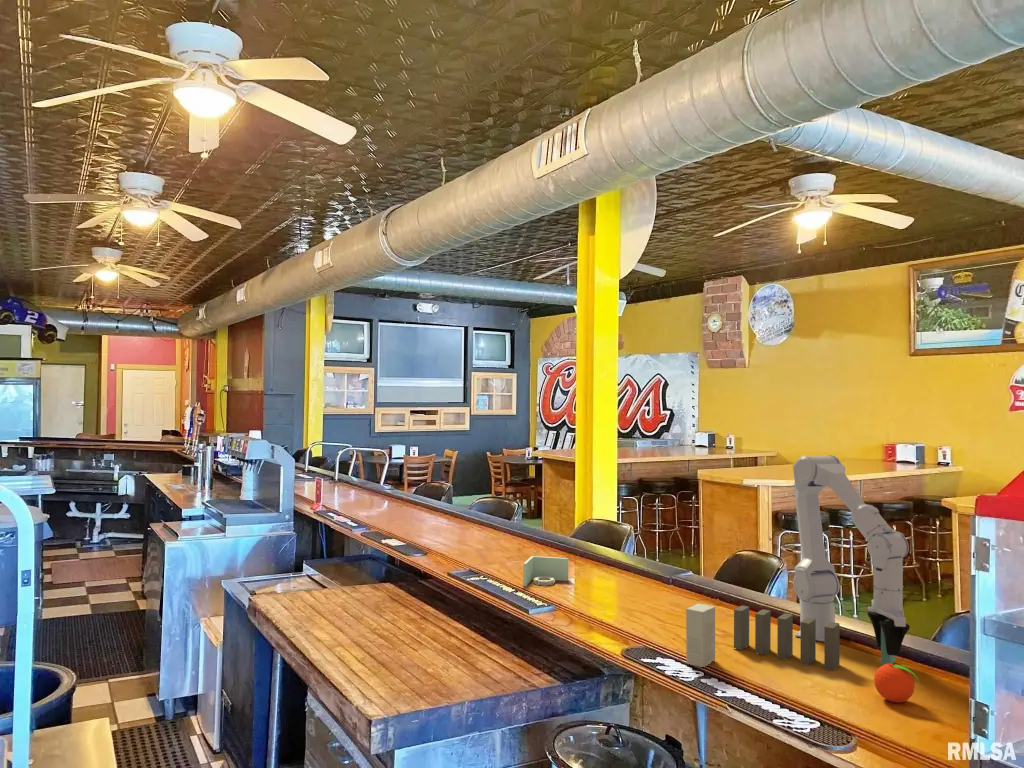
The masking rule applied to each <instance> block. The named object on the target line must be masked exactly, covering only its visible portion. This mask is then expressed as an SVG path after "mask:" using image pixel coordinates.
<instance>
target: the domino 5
mask: <svg viewBox="0 0 1024 768" xmlns="http://www.w3.org/2000/svg"><path fill="white" fill-rule="evenodd" d="M823 643H824V650H823V651H824V655H823V656H824V659H823V660H824V662H823V663H824V665H823V666H824V668H823V669H824V670H828V671H833V672H834V671H835V670H836V668H838V667H839V666H840V623H839V622H836V621H835V622H830V623H828V624H827V625H826V626H825V627H824V642H823Z"/></svg>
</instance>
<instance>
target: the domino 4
mask: <svg viewBox="0 0 1024 768" xmlns="http://www.w3.org/2000/svg"><path fill="white" fill-rule="evenodd" d="M816 641H817V640H816V619H814V618H808V617H807V618H806V619H804V620H803V621H801V637H800V655H799V656H800V659H799V660H800V662H799V663H801V665H804V664H805V666H810V665H811V664H813V663H814V662H815V661H816V660H817V659H816V656H817V655H816V653H817V652H816V651H817V649H816V647H817V645H816Z"/></svg>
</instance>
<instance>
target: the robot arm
mask: <svg viewBox="0 0 1024 768" xmlns="http://www.w3.org/2000/svg"><path fill="white" fill-rule="evenodd" d="M792 471H793V479H794V485H793V490H794V491H793V493H794V499H795V509H796V517H797V519H796V520H797V526H798V533H799V535H798V536H799V541H800V542H799V544H800V551H801V552H800V553H801V560H800V561H799V562H798V563H797V564H796V565H795V567H794V568H793V571H794V576H793V581H792V583H793V584H792V586H793V590H794V592H795V595H797V598H798V599H799V600H800V607H799V609H800V611H799V612H800V618H799V620H800V621H799V623H800V625H799V626H800V628H799V629H800V630H798V631H797V632H795V633H794V636H795V637H799V638H801V621H803V620H804V619H806V618H807V617H808V618H814V619H816V641H819V642H823V643H824V627H825V626H826V625H827V624H828V623H830V622H836V608H835V605H834V603H833V601H835V596H837V595H838V593H839V592H840V588H841V587H840V581H839V578H838V576H837V573H836V569H835V566H834V565H833V564H832V563H831V562H830V561H829V560H828V559H827V557H826V549H825V541H824V540H825V539H824V533H823V525H822V523H823V522H822V517H821V515H822V514H821V509H820V508H821V507H820V499H819V495H820V493H821V492H822V491H823V490H824V488H830V489H831V490H832V491H833V492H834V493H835V495H837V497H838V498H839V499H840V500H841V502H843V504H844V505H845V506H846V507H847V508H848V509H849V510H850V512H851V515H850V520H851V521H852V523H853V524H854V526H855V527H856V528H857V530H858V531H859V532H860V533H861V535H862V536H863V537H864V538H865V541H866V542H867V543H868V544H866V548H867V552H868V554H869V555H870V557H871V559H870V560H871V564H872V567H873V599H871V605H868V606H867V610H868V612H867V617H868V618H869V620H870V622H871V625H872V628H873V631H874V634H875V635H874V636H875V640H876V644H877V646H878V647H881V627H882V630H883V633H884V637H885V644H886V650H887V654H888V655H895V657H896V656H897V657H898V656H900V652H901V649H902V644H903V641H904V639H905V636H906V635H907V633H908V632H909V631H910V627H911V626H910V624H908V623H907V618H906V616H905V613H904V612H905V611H904V608H903V605H904V604H903V598H904V597H903V590H904V589H903V585H904V584H903V582H904V581H903V580H904V579H903V578H904V577H903V576H904V575H903V562H904V561H903V559H904V558H905V557H907V555H908V553H909V550H910V549H909V547H910V546H909V543H908V540H907V538H906V537H905V535H904V534H903V533H902V532H900V531H896V530H895V529H893V528H892V527H891V526H890V525H889V523H887V522H886V520H885V519H884V518H883V517H882V515H881V514H880V510H879V509H878V508H877V507H875V506H874V505H872V504H866V503H865V501H863V499H862V497H861V496H860V494H859V493H858V491H857V490H856V488H855V487H854V485H853V484H852V482H851V480H850V479H849V478H848V476H847V474H846V467H845V465H843V464H842V462H841V460H840V459H839V458H838V457H837V456H836V455H833V454H831V455H830V454H829V455H820V456H819V455H818V456H817V455H816V456H813V455H812V456H811V455H802V456H799V458H798V459H797V460H796V461H795V463H793V465H792ZM886 619H887V620H889V621H885V620H886Z"/></svg>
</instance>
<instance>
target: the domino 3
mask: <svg viewBox="0 0 1024 768" xmlns="http://www.w3.org/2000/svg"><path fill="white" fill-rule="evenodd" d="M793 621H794V615H793V614H791V613H785V612H783V614H781V615H780V616H778V617H777V637H776V638H777V643H776V645H777V649H776V650H777V651H776V652H777V658H779V659H778V660H782V659H783V661H787V660H788V659H789V658H790V657H792V656H793V655H794V650H793V645H794V644H793V642H794V641H793V640H794V638H793V636H794V635H793V633H794V632H793V631H794V630H793V629H794V628H793V627H794V624H793V623H794V622H793ZM777 658H776V659H777ZM786 659H787V660H786Z"/></svg>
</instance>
